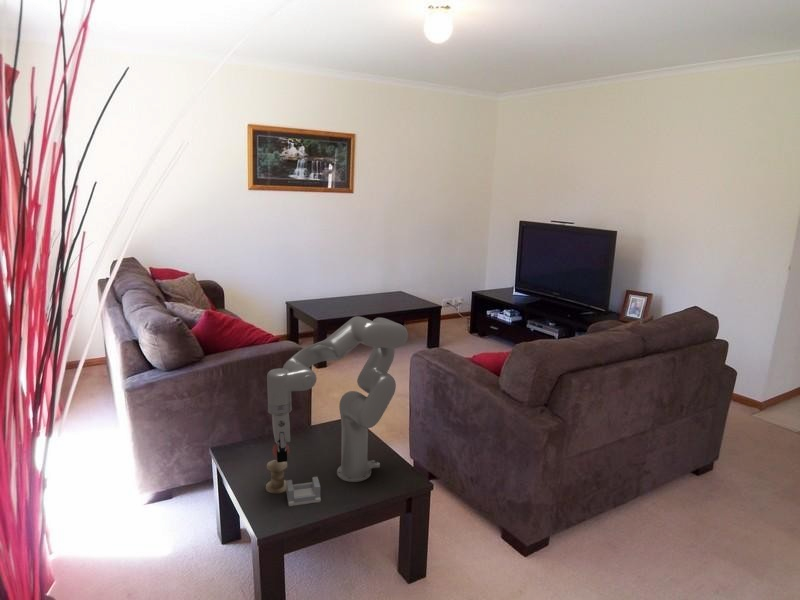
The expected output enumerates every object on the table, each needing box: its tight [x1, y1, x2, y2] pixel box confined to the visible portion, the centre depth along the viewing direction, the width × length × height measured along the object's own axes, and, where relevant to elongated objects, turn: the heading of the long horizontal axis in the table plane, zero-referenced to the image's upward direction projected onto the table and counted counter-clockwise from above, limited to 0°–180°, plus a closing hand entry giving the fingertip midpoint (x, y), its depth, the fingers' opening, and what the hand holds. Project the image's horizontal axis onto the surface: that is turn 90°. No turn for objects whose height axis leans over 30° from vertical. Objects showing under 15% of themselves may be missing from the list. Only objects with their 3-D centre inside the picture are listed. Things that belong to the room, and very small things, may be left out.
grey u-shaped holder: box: [285, 476, 322, 507], centre depth 184 cm, size 11×9×5 cm
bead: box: [271, 443, 290, 459], centre depth 180 cm, size 6×6×6 cm
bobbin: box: [265, 459, 288, 495], centre depth 189 cm, size 8×8×9 cm
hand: (281, 456), depth 180 cm, fingers closed on bead, 5 cm apart
